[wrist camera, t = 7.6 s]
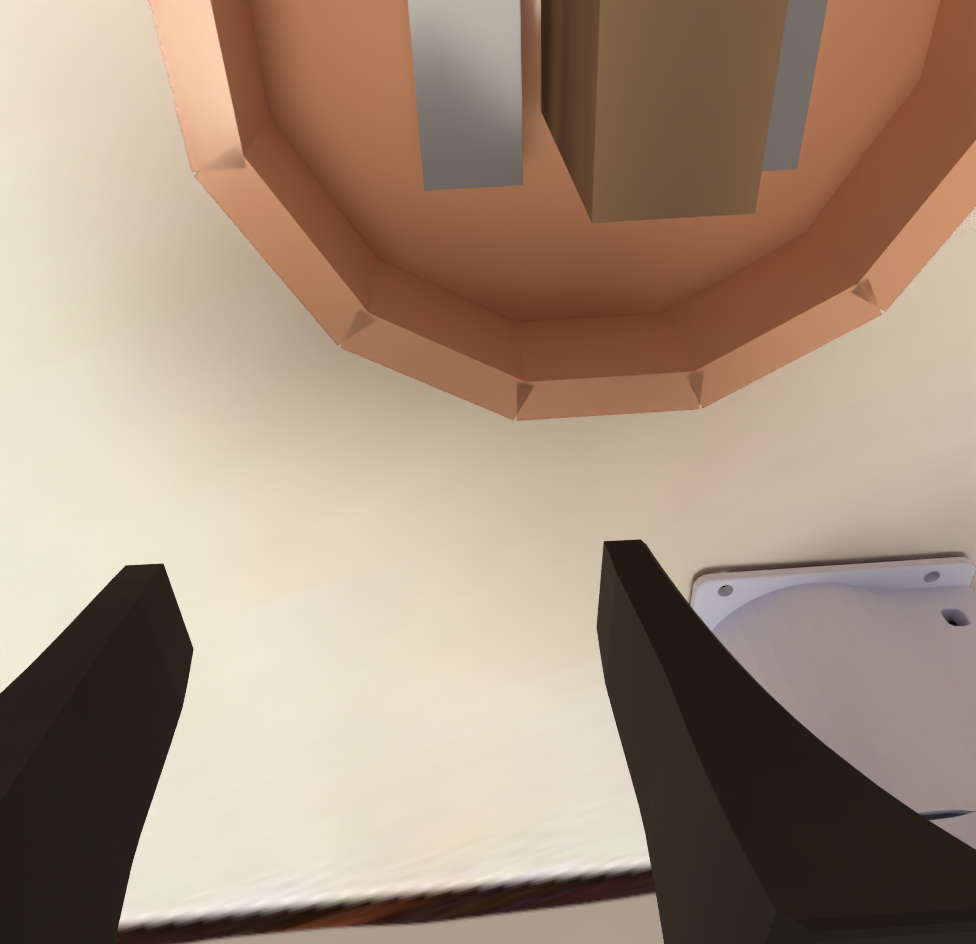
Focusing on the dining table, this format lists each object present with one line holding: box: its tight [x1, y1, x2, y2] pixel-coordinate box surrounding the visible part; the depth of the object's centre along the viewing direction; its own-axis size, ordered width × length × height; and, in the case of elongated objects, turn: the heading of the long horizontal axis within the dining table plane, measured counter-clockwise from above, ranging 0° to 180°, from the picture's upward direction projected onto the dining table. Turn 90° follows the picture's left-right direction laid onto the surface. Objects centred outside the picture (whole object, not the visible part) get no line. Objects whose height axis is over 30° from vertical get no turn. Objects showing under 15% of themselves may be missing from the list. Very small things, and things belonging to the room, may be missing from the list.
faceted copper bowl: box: [148, 0, 976, 421], centre depth 15 cm, size 16×16×4 cm
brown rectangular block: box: [541, 0, 789, 223], centre depth 13 cm, size 2×4×7 cm, turn 2°
